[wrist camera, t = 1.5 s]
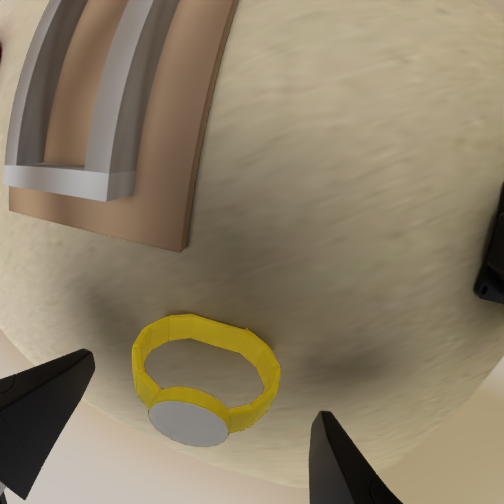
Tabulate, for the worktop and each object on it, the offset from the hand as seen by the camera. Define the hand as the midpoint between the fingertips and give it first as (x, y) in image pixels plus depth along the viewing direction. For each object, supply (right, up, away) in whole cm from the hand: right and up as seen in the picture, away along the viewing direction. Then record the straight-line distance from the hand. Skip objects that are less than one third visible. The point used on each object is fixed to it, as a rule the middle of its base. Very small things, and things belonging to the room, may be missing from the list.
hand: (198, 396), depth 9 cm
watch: (0, +1, +4) cm, 5 cm away
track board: (-5, +14, +1) cm, 15 cm away
